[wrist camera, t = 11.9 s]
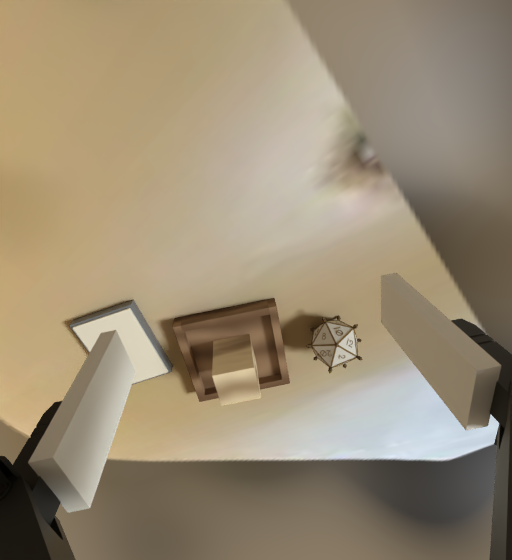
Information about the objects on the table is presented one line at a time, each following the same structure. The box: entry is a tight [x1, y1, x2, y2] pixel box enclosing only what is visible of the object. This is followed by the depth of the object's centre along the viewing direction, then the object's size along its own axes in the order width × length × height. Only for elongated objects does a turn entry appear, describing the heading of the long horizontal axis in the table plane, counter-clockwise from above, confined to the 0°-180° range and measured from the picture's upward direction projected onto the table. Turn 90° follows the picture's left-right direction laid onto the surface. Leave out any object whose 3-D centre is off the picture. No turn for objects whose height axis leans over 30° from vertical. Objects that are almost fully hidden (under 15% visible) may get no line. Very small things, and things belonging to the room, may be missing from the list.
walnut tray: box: [173, 298, 290, 402], centre depth 54 cm, size 16×16×2 cm
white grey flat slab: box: [69, 300, 173, 385], centre depth 52 cm, size 14×10×2 cm
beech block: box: [212, 334, 261, 406], centre depth 50 cm, size 6×6×8 cm
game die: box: [306, 316, 362, 373], centre depth 51 cm, size 9×8×10 cm
